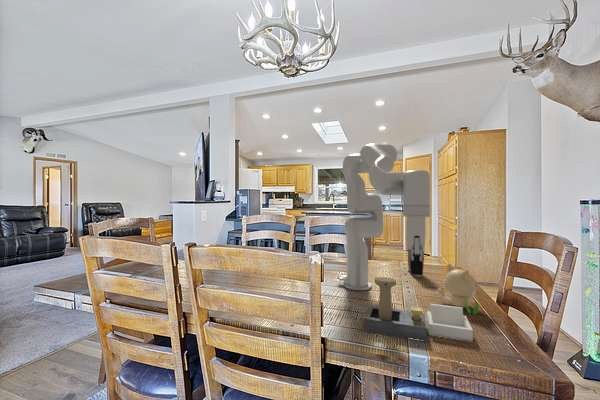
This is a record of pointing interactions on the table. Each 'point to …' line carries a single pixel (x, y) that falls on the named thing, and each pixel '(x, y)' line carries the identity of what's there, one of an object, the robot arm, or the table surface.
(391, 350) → the table surface
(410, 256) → the stone block
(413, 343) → the table surface
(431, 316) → the white square bin
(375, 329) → the socket block
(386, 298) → the handle
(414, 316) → the brass key
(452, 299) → the cream toy figurine
